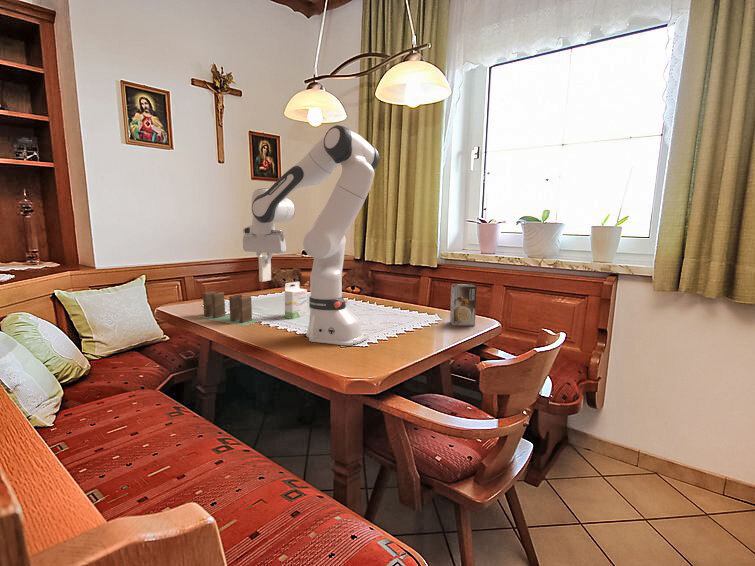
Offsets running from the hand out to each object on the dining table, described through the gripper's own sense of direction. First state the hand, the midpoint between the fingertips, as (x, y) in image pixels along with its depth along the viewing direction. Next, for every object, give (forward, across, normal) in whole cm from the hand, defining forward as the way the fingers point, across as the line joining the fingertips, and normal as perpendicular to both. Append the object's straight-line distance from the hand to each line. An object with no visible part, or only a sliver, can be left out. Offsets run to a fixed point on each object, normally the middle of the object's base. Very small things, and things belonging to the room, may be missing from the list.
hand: (264, 263), depth 164 cm
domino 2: (+22, +17, +10) cm, 30 cm away
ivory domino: (+7, 0, 0) cm, 7 cm away
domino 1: (+22, +22, +10) cm, 33 cm away
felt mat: (+23, +11, +10) cm, 27 cm away
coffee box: (+24, -75, -32) cm, 85 cm away
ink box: (+23, -10, -7) cm, 26 cm away
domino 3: (+23, +7, +10) cm, 26 cm away
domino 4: (+23, +2, +10) cm, 25 cm away
